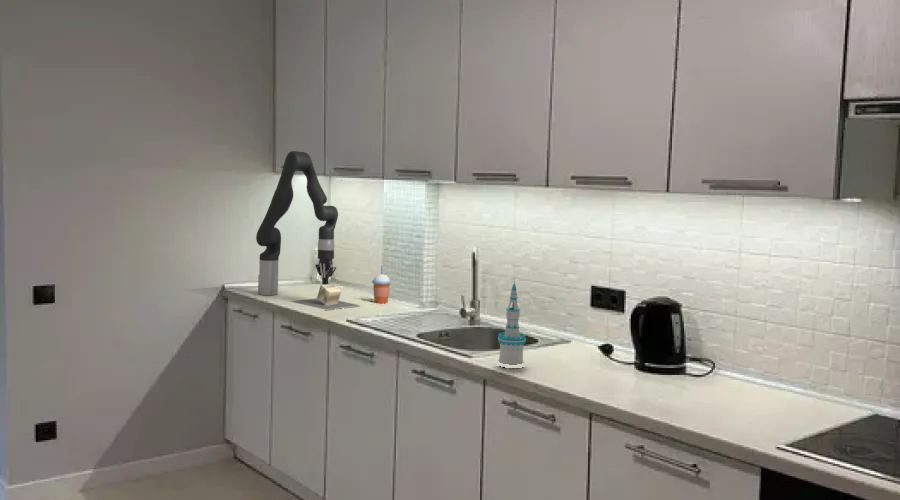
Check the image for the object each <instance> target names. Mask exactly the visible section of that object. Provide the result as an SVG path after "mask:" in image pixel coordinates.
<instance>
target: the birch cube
mask: <svg viewBox="0 0 900 500" xmlns="http://www.w3.org/2000/svg"><path fill="white" fill-rule="evenodd" d="M341 294H342V290H341V289H339V288H338V287H337V286H336V285H335V284H334V283H328V284H323V285H322V284H320V286H319V290H318V293H317V295H316V298H318V299H319V300H320V301H321V302H322V303H323V304H324V305H334V304H337V303H338V301H340V296H341Z"/></svg>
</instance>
